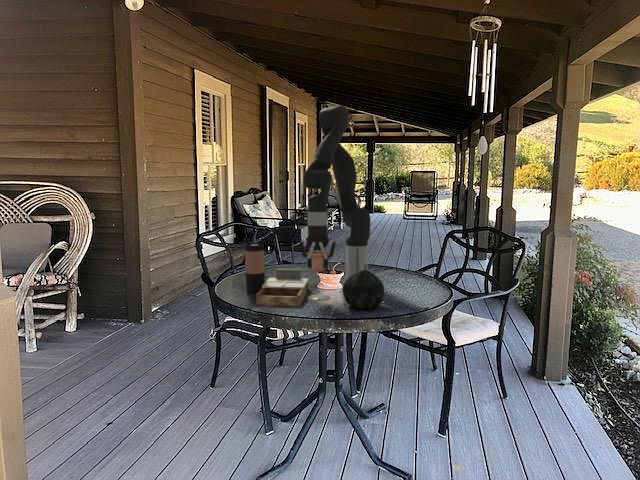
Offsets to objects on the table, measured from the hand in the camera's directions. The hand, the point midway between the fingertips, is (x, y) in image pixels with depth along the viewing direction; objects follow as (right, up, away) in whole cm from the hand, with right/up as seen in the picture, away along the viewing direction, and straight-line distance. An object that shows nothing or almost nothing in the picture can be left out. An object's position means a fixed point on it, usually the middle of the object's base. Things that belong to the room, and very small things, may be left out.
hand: (317, 267), depth 192 cm
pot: (0, -1, 0) cm, 1 cm away
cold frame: (-13, -12, +4) cm, 18 cm away
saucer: (0, -12, +2) cm, 12 cm away
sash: (-13, -7, +7) cm, 16 cm away
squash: (+17, -14, -8) cm, 23 cm away
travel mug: (-25, -11, +13) cm, 30 cm away
